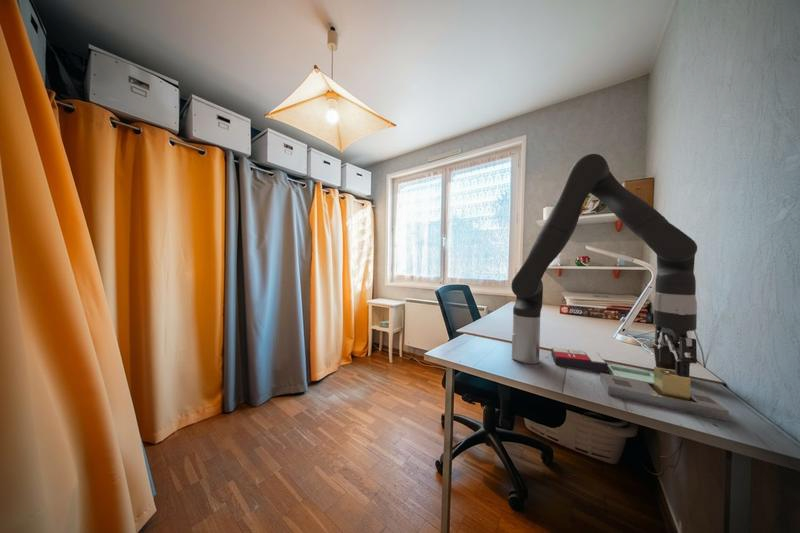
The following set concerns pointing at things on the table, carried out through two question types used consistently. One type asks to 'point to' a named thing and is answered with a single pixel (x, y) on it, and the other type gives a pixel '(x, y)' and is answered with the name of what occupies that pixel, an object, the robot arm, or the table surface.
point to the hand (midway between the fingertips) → (673, 369)
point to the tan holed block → (671, 384)
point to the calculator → (579, 359)
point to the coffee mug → (661, 365)
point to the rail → (662, 397)
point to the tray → (631, 373)
